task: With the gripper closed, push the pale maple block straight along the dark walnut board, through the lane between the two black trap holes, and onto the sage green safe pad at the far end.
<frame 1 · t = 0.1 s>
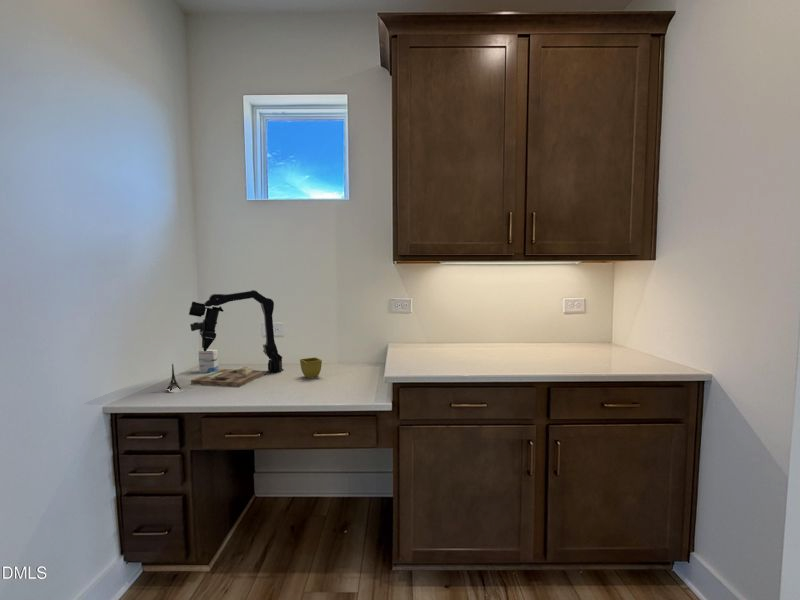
hand: (203, 349, 206), 15 cm above the table, tool pointing down, fingers open, 9 cm apart
flower pot: (311, 377, 211), on the table
eiffel tower figurine: (173, 391, 191), on the table
ink box: (209, 371, 225), on the table
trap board: (229, 379, 208), on the table
maple block: (244, 375, 206), point 2 cm above the table, touching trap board
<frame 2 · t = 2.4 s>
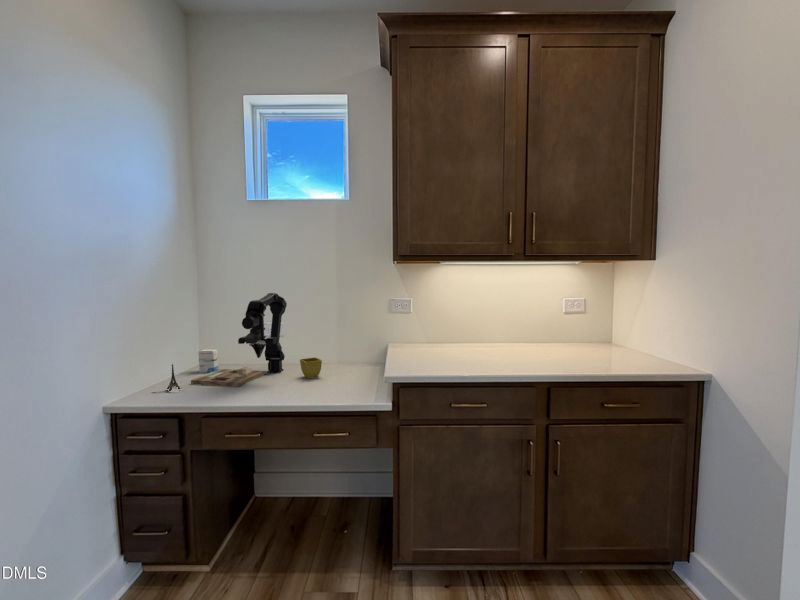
hand: (258, 357, 204), 11 cm above the table, tool pointing down, fingers closed
nothing on the table moved.
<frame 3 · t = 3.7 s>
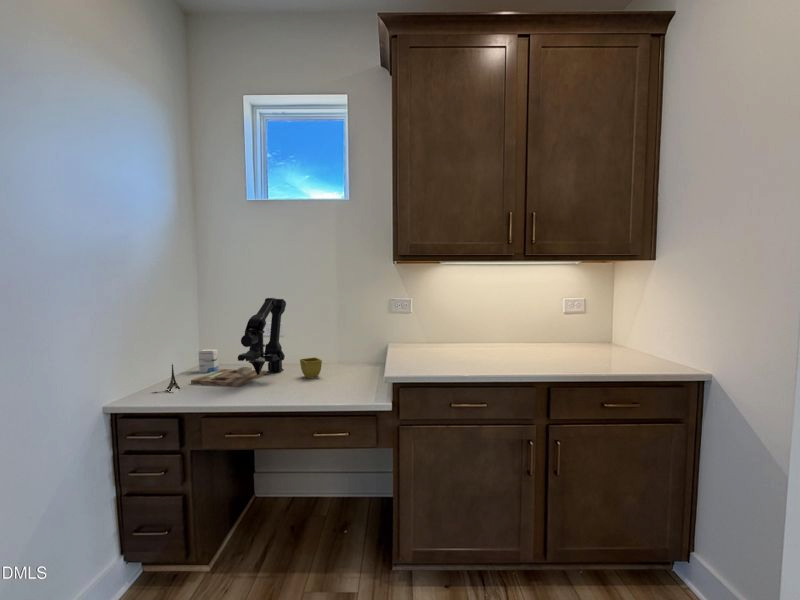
hand: (258, 374, 205), 3 cm above the table, tool pointing down, fingers closed
nothing on the table moved.
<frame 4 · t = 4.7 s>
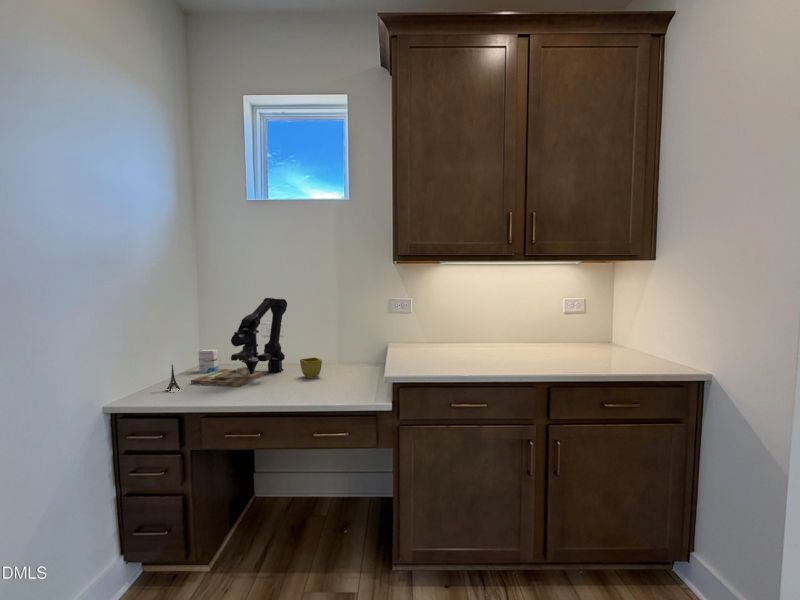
hand: (251, 374, 206), 3 cm above the table, tool pointing down, fingers closed
maple block: (243, 375, 206), point 2 cm above the table, touching gripper
everything else where it was.
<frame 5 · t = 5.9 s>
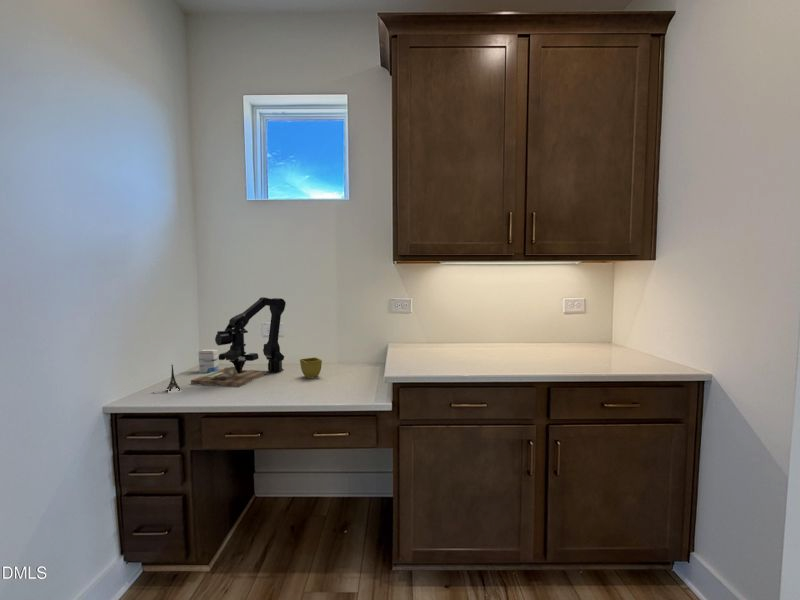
hand: (239, 373, 207), 3 cm above the table, tool pointing down, fingers closed
maple block: (231, 375, 208), point 2 cm above the table, touching gripper, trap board
everything else where it was.
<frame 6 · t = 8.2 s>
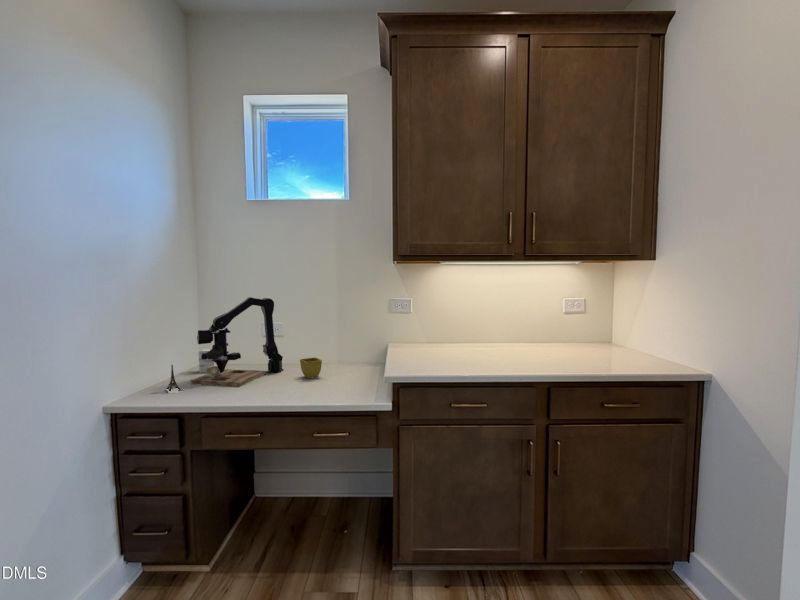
hand: (221, 372, 209), 3 cm above the table, tool pointing down, fingers closed
maple block: (213, 374, 209), point 2 cm above the table, touching gripper, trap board
everything else where it was.
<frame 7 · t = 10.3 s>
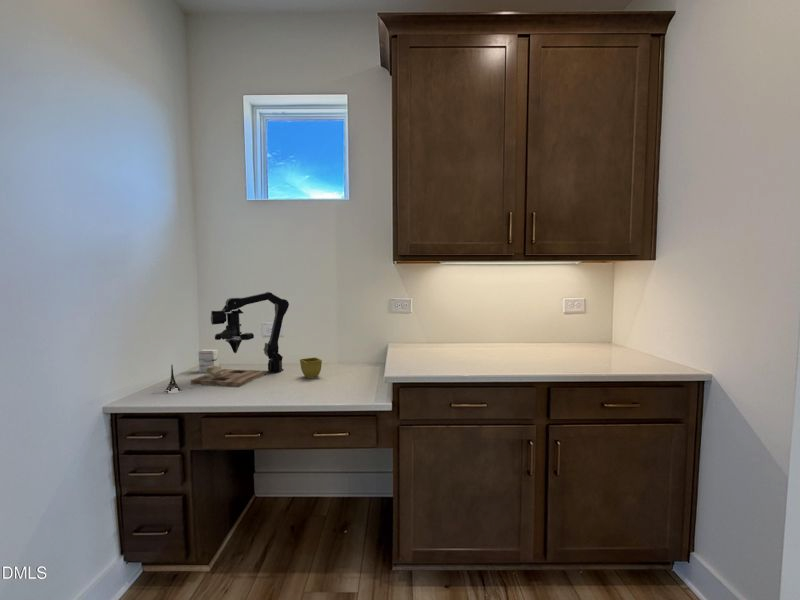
hand: (235, 353, 212), 12 cm above the table, tool pointing down, fingers closed
maple block: (213, 374, 209), point 2 cm above the table, touching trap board
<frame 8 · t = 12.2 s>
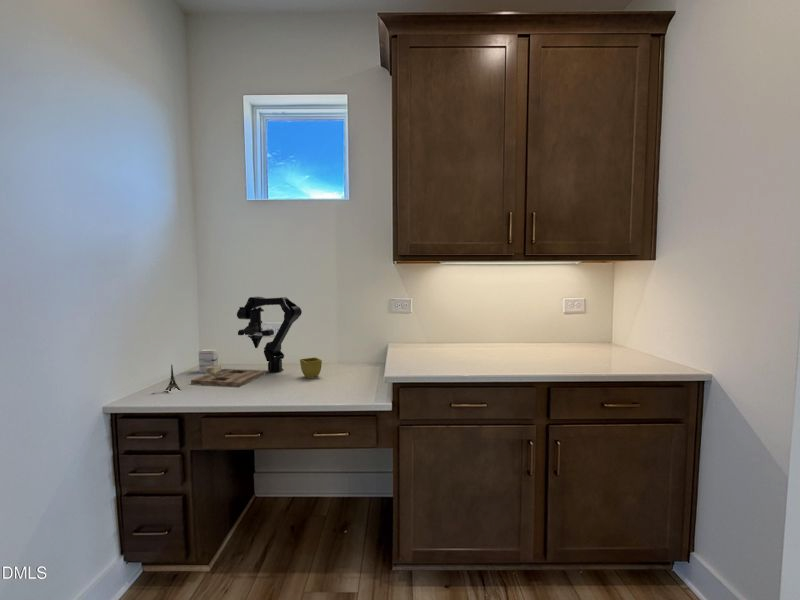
hand: (256, 348, 227), 12 cm above the table, tool pointing down, fingers closed
at the end: maple block inside the target area on the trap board (0.8 cm from its centre), point 2.0 cm above the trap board's base; maple block tilted 0° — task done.
